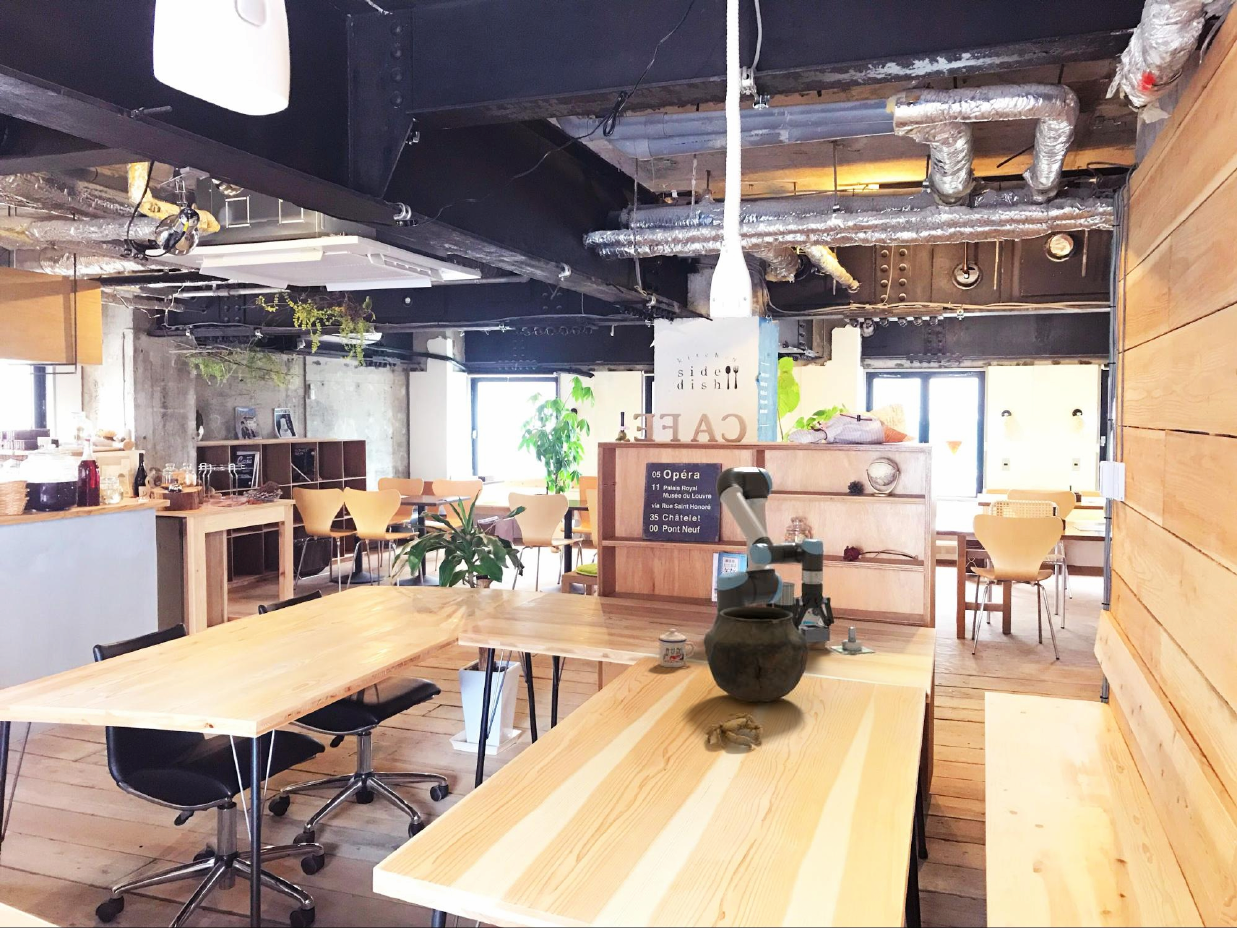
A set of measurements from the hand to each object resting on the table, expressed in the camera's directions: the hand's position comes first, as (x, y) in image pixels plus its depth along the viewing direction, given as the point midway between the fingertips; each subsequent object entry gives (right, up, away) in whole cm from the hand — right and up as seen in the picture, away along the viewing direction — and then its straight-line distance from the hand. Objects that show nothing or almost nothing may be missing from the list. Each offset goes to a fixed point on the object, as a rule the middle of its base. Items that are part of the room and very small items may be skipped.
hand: (811, 644), depth 324 cm
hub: (+14, -1, -4) cm, 14 cm away
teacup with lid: (-50, -1, -28) cm, 58 cm away
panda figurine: (+4, -1, +18) cm, 18 cm away
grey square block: (0, +2, 0) cm, 2 cm away
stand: (0, -1, 0) cm, 1 cm away
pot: (-30, -2, -69) cm, 75 cm away
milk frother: (-4, 0, +55) cm, 55 cm away
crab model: (-41, -3, -105) cm, 113 cm away
